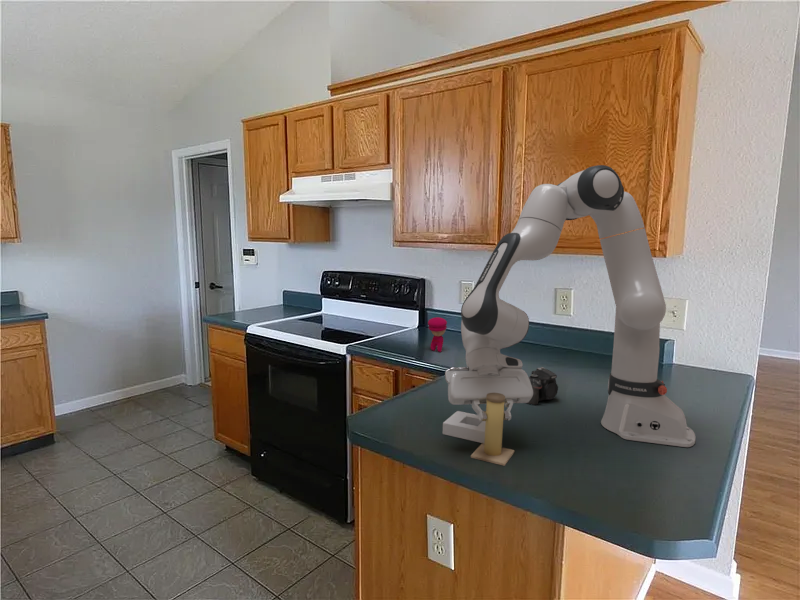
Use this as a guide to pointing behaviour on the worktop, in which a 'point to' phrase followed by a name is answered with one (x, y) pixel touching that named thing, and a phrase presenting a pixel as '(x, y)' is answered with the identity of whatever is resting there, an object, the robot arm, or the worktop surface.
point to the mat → (498, 459)
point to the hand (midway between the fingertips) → (495, 419)
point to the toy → (437, 332)
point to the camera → (543, 385)
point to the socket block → (465, 426)
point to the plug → (494, 423)
